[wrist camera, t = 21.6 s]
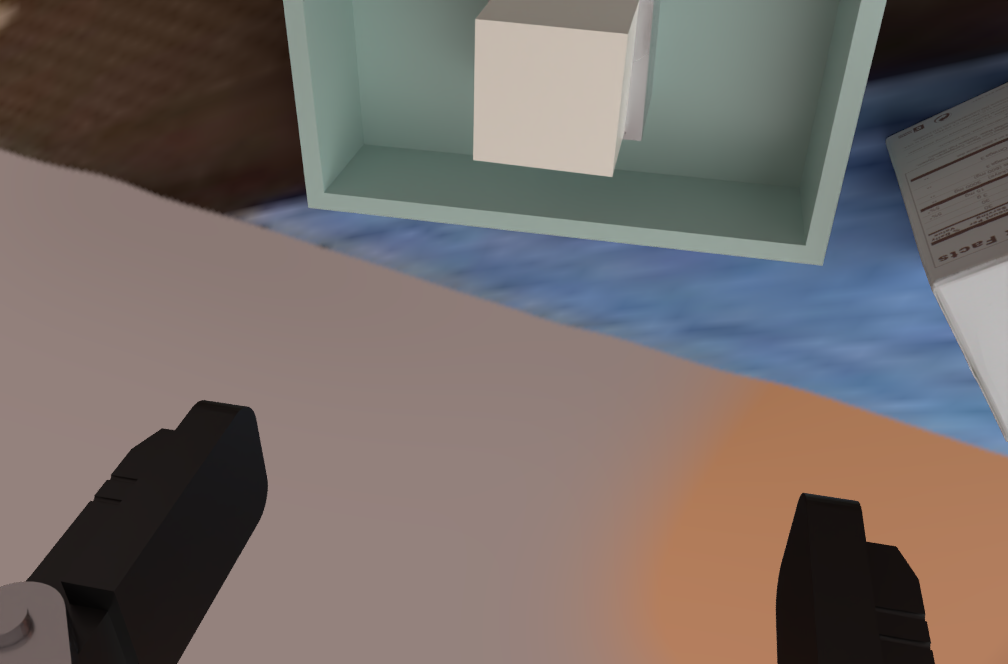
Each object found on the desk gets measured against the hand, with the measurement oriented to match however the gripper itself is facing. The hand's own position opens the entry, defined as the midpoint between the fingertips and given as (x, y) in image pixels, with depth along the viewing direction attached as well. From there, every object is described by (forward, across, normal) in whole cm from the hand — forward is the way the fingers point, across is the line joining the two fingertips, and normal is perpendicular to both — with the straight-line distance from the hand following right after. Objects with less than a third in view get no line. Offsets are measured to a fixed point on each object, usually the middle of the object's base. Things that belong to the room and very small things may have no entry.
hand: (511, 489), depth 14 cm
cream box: (+24, +3, +2) cm, 25 cm away
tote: (+30, +3, +2) cm, 30 cm away
